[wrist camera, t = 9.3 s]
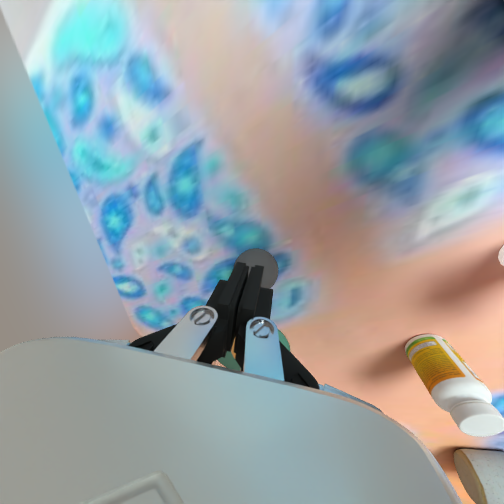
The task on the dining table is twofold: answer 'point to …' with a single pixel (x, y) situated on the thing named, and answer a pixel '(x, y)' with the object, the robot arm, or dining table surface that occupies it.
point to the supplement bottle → (454, 385)
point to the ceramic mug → (481, 474)
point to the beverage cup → (501, 255)
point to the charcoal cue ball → (262, 259)
